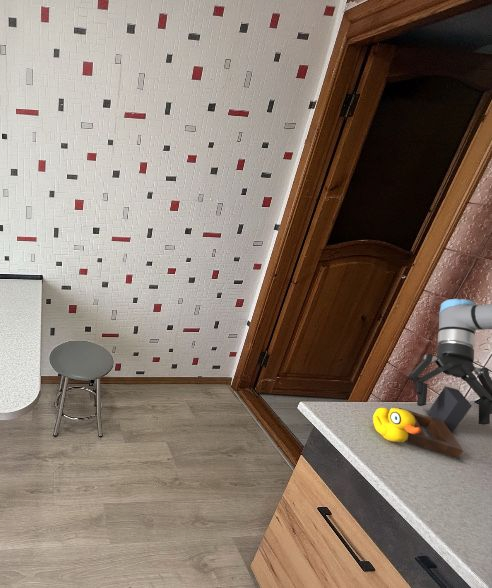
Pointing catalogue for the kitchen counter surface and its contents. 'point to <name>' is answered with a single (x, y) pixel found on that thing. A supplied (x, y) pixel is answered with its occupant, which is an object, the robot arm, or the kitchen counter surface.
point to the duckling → (394, 424)
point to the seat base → (434, 436)
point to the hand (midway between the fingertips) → (451, 414)
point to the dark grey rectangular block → (450, 407)
